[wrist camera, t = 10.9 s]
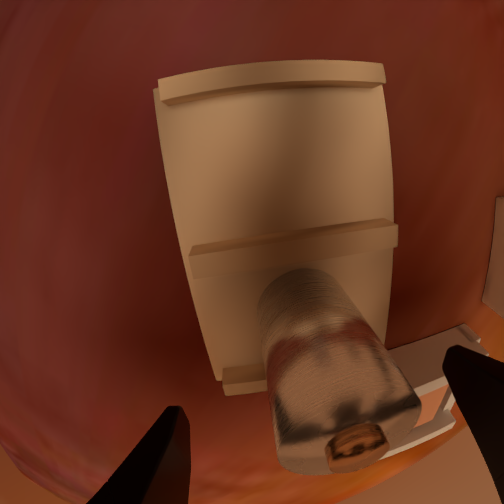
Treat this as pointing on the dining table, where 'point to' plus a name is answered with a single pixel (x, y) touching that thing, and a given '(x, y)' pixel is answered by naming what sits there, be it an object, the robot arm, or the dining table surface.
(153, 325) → the dining table surface
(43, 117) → the dining table surface
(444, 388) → the pad
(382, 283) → the troughs
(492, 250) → the bin
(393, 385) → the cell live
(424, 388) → the cradle
